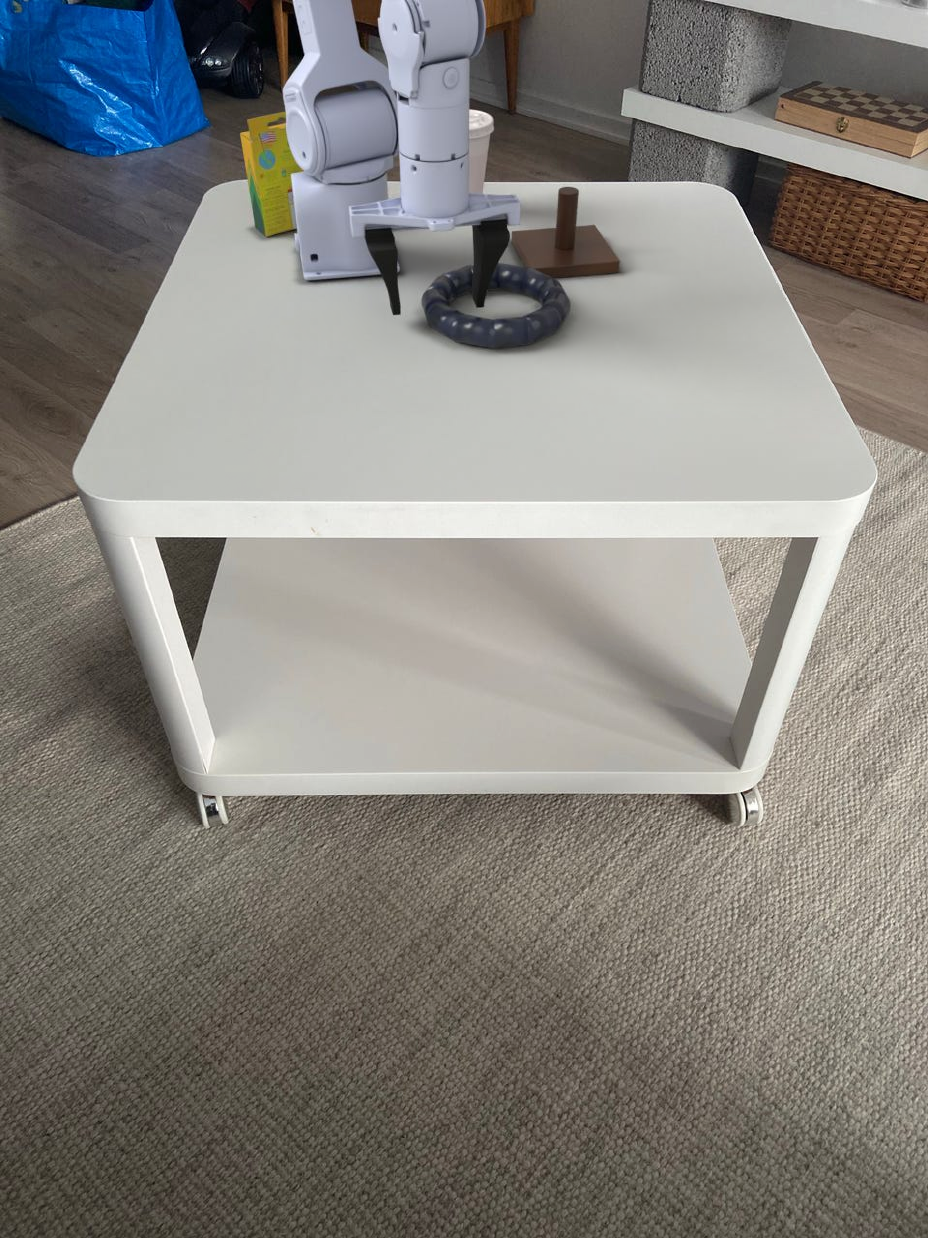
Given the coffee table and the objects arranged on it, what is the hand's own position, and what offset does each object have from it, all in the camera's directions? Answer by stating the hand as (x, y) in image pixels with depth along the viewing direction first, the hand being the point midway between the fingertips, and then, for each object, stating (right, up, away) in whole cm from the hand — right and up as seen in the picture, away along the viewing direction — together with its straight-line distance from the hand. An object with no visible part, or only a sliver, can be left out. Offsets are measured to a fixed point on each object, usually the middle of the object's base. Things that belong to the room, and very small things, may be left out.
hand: (437, 306), depth 89 cm
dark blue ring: (+5, +1, +1) cm, 6 cm away
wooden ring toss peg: (+13, +9, +11) cm, 19 cm away
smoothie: (+2, +16, +19) cm, 25 cm away
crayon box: (-16, +14, +16) cm, 27 cm away
